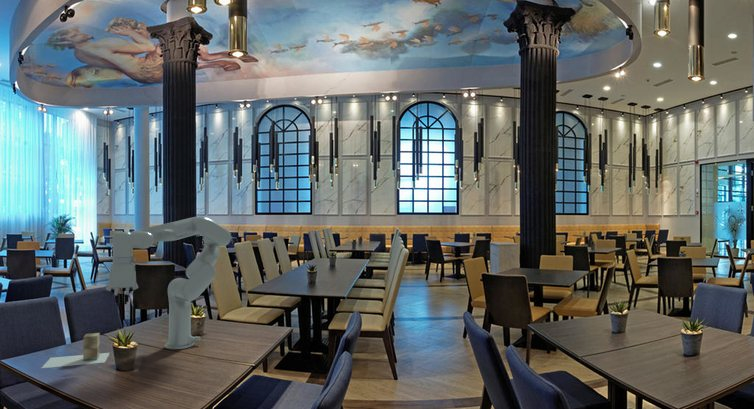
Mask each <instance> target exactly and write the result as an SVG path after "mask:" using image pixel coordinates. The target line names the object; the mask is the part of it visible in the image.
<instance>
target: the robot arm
mask: <svg viewBox="0 0 754 409" xmlns="http://www.w3.org/2000/svg"><path fill="white" fill-rule="evenodd" d="M197 235H199V236H203V237H202V238H203V249H202V251H201V252H200V253H199V254H198V256H196V258H195V259H194V260H192V261H191V263H190V264H189V265H188V266H187V267H186V270H185V275H186V277H187V278H185V277H177V278H174V279H172V280H171V281H170V282H169V284H168V287H167V296H168V307H169V308H168V342H166V343H165V344H164V348H165V349H166V350H167V349H168V350H184V349H188V348H191V347H193V346H194V345H195V342H201V339H202V337H201V336H197V335H195V336H193V335H192V331H191V327H192V323H191V322H192V303H191V302H192V301H195V300H196V299H198V298H199V297H200V296H201V295H202V293H204V292H205V290H206V289H207V288H208V287H209V286H210V285H211V283H212V282H213V281H214V279H215V277H216V274H217V271H216V267H215V266H214V265H215V264H216V263H217V261H218V259H219V258H220V256H221V255H220V254H221V252H220V251H221V247H226V246H227V245H229V244H230V243H231V240H232V234H231V232H230V231H229V230H228V229H227V228H225V227H224V226H222V225H221V224H219V223H217V222H215V221H214V220H212V219H210V218H208V217H206V216H193V217H192V216H191V217H188V218H184V219H180V220H177V221H175V220H174V221H173V222H167V223H162V224H158V225H152V226H148V227H144V228H143V227H142V228H139V229H135V230H132V231H130V232H129V231H117V232H114V233H113V235H112V236H113V237H112V238H113V239H112V263H111V264H110V268H109V274H108V283H107V285H106V287H105V290H106V291H108V292H111V293H112V294H113V295H114V299H115V301H114V302H115V303H116V305H117V306H118V305H120V303H121V302H120V299H121V298H120V293H119V289H121V288H122V289H125V293H124V298H123V302H124V305H127V303H129V298H130V297H129V296H130V294H131V293H132V292H133V291H135V290H137V289H139V285H138V283H137V275H136V274H137V273H136V264H135V263H134V262H136V261H137V257H133V256H134V255H133V253H134V250H133V249H141V250H142V249H143V250H144V249H148V248H150V247H152V246H153V245H154V243H158V242H174V241H177V240H181V239H185V238H188V237H192V236H197Z"/></svg>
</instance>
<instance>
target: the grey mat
mask: <svg viewBox="0 0 754 409" xmlns="http://www.w3.org/2000/svg"><path fill="white" fill-rule="evenodd" d="M109 356H110V352H104V353H103V352H102V353H101V352H100V353H99V358H98V359H97V360H91V361H83V354H80V355H67V356H58V357H57V356H55V357H49V359H47V361H46V362H45V363H44V364H43V366H42V367H41V369H47V368H48V369H49V368H50V369H51V368H58V367H59V368H60V367H69V366H70V367H71V366H80V365H93V364H101V363H103V364H104V363H106V361H107V359H108V358H109Z"/></svg>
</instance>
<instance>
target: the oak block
mask: <svg viewBox="0 0 754 409" xmlns="http://www.w3.org/2000/svg"><path fill="white" fill-rule="evenodd" d="M100 338H101V337H100V332H94V333H85V334H84V336H83V346H82V347H83V350H82V352H83V353H82V355H83V361H91V360H97V359H98V358H99V354H100Z"/></svg>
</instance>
